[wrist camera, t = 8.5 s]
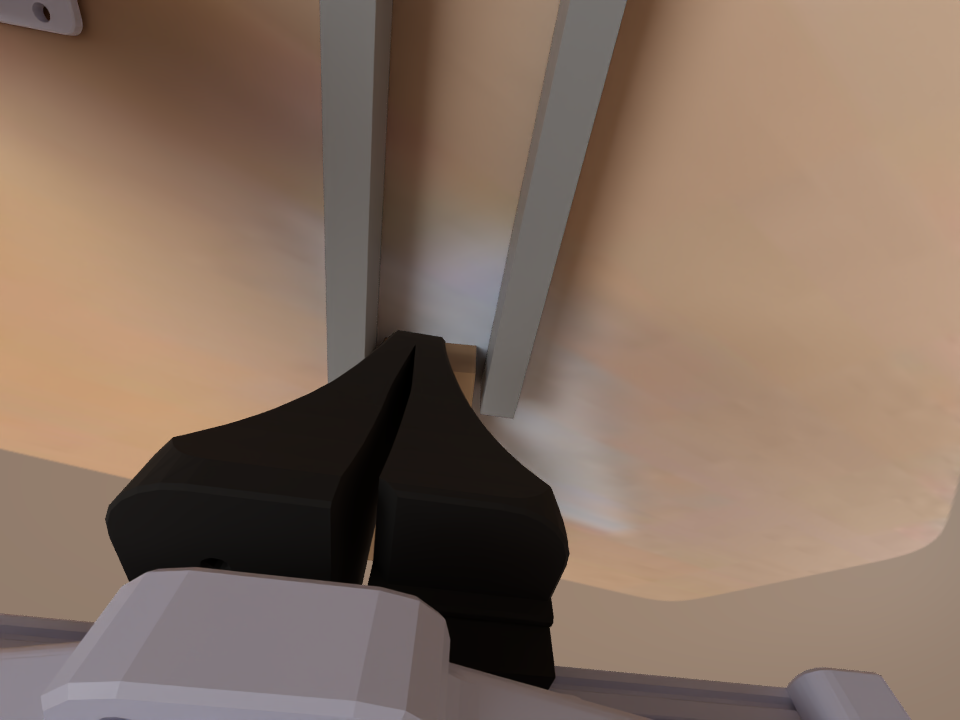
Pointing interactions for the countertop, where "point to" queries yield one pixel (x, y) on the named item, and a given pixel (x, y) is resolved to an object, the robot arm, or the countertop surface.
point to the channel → (361, 165)
